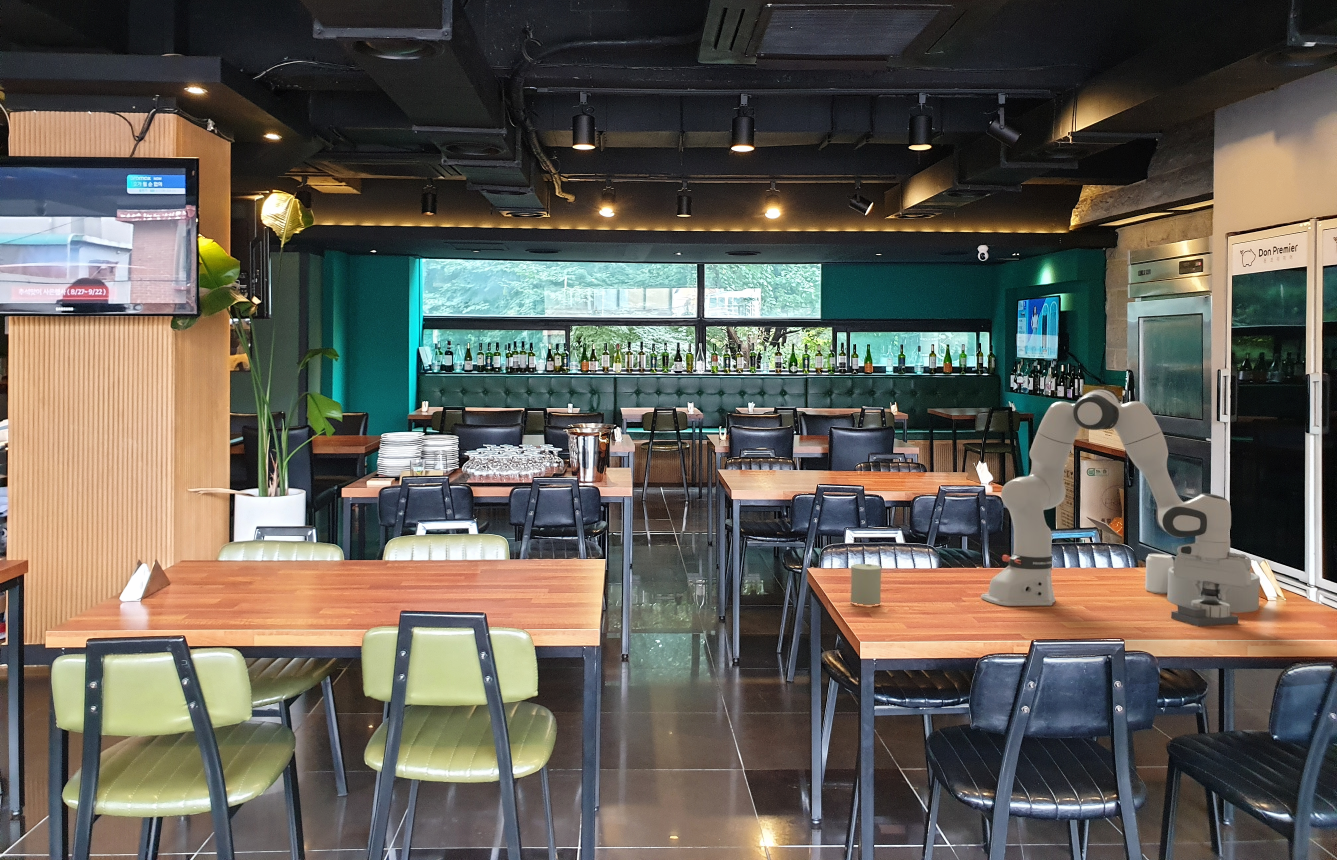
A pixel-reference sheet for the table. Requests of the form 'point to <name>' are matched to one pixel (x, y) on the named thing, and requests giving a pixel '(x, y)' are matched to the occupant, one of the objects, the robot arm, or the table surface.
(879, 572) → the can
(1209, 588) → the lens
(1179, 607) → the stepped dark base plate
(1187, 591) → the container
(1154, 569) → the beverage can
